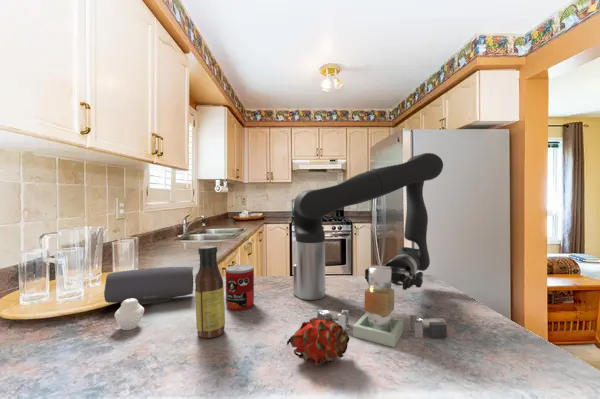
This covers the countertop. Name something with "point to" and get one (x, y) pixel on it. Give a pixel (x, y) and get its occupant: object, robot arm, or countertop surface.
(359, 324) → the mint green tray
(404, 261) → the robot arm
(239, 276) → the canned food
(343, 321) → the shaft
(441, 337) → the shaft
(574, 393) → the countertop surface
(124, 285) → the bluetooth speaker
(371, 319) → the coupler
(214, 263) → the sauce bottle
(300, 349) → the dragon fruit
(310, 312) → the countertop surface
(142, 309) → the muffin
